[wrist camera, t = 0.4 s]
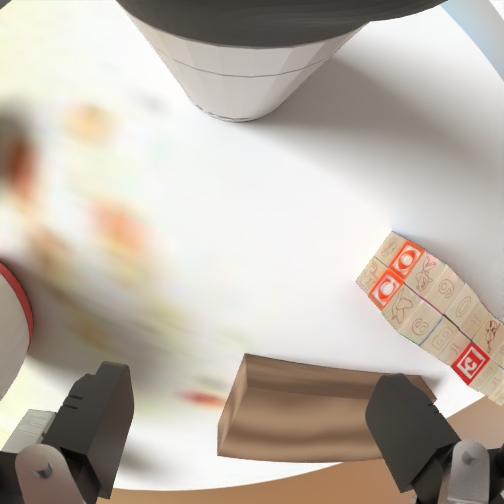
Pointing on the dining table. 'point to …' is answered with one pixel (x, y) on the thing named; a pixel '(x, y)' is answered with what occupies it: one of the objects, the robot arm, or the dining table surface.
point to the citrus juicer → (12, 328)
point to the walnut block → (300, 413)
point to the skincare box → (29, 430)
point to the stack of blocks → (437, 313)
